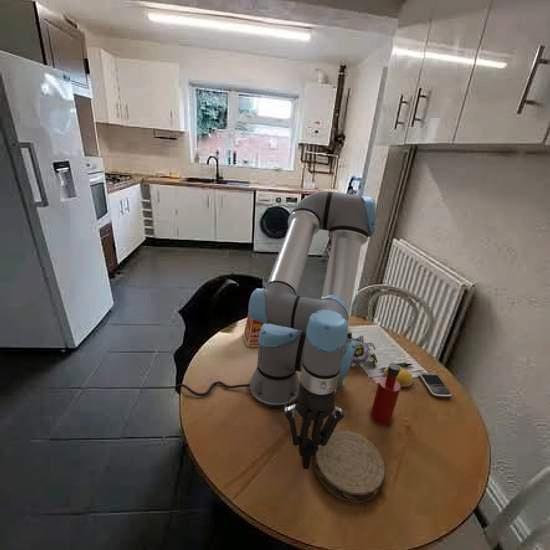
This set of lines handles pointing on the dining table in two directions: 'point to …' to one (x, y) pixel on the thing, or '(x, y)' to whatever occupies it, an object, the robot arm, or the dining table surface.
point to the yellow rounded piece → (402, 377)
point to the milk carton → (252, 332)
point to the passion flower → (363, 352)
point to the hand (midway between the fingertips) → (305, 463)
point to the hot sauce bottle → (386, 396)
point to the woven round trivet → (350, 466)
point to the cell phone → (435, 385)
